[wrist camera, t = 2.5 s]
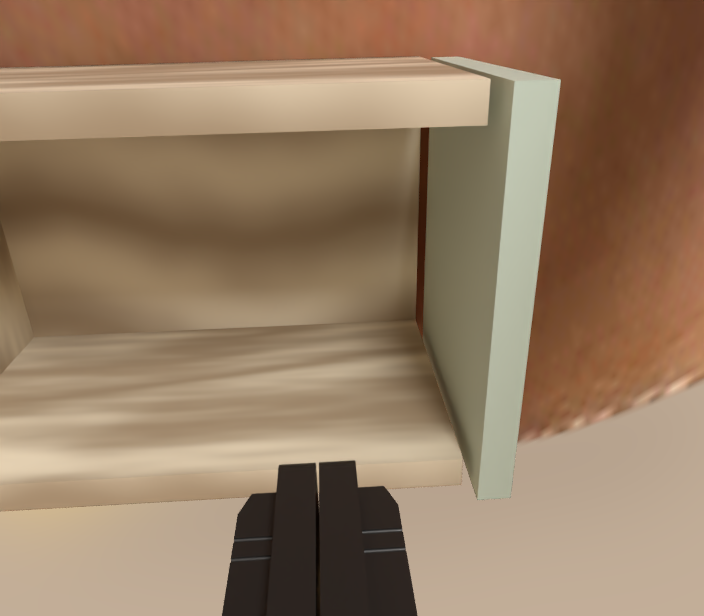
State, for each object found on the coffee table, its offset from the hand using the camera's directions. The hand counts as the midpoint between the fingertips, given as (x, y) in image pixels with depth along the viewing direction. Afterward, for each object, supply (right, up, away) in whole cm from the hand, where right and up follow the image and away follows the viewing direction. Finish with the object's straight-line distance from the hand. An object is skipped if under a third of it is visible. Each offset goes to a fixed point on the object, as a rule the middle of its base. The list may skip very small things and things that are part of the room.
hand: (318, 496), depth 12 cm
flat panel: (+5, +8, +17) cm, 20 cm away
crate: (-7, +8, +18) cm, 21 cm away
